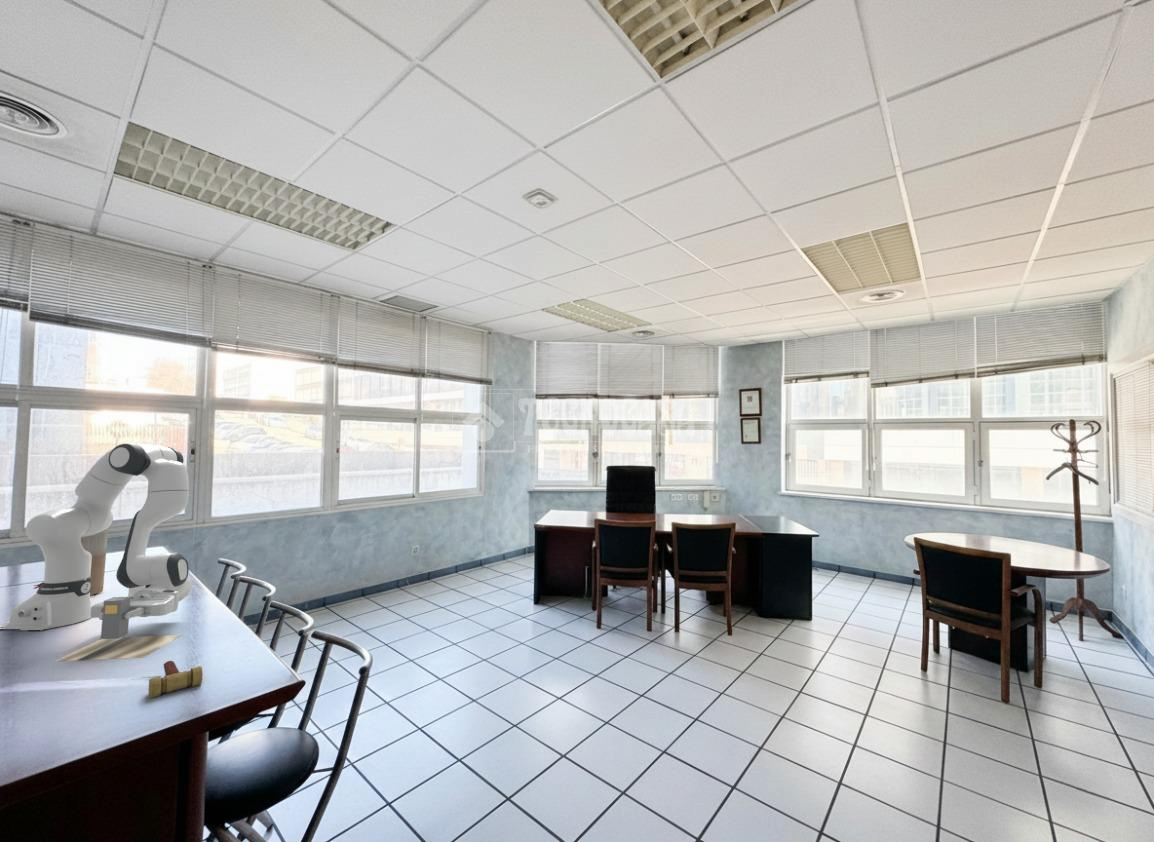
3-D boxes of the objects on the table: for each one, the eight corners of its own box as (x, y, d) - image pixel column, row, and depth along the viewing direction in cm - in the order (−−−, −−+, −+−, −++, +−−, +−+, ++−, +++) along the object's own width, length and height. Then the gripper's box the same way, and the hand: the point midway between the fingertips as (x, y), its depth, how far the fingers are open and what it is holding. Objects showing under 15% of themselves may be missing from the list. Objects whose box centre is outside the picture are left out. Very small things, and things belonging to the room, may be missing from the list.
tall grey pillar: (99, 639, 136) (102, 601, 136) (110, 634, 139) (113, 597, 140) (117, 638, 136) (120, 600, 137) (127, 633, 140) (130, 596, 141)
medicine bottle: (145, 598, 186) (147, 568, 187) (127, 598, 187) (129, 567, 187) (161, 592, 194) (163, 563, 194) (144, 592, 194) (146, 563, 194)
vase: (83, 590, 195) (89, 523, 196) (109, 590, 196) (115, 523, 197) (60, 598, 185) (66, 527, 187) (87, 597, 186) (93, 527, 188)
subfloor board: (53, 666, 128) (53, 661, 129) (102, 643, 144) (102, 638, 144) (143, 662, 132) (143, 657, 132) (181, 639, 148) (182, 635, 148)
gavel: (143, 659, 128) (190, 649, 135) (142, 677, 127) (189, 665, 134) (151, 681, 113) (203, 668, 120) (149, 701, 113) (202, 686, 120)
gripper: (113, 592, 150) (74, 607, 136) (183, 590, 153) (152, 604, 139) (111, 612, 149) (72, 629, 136) (182, 610, 153) (151, 626, 139)
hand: (113, 616), depth 138 cm, fingers closed on tall grey pillar, 4 cm apart
